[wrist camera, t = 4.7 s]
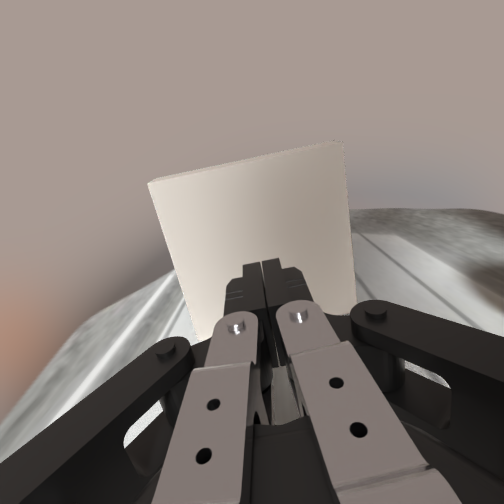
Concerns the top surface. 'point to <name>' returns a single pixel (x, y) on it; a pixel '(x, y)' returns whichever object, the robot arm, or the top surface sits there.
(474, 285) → the top surface
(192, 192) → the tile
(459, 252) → the top surface
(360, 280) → the top surface
